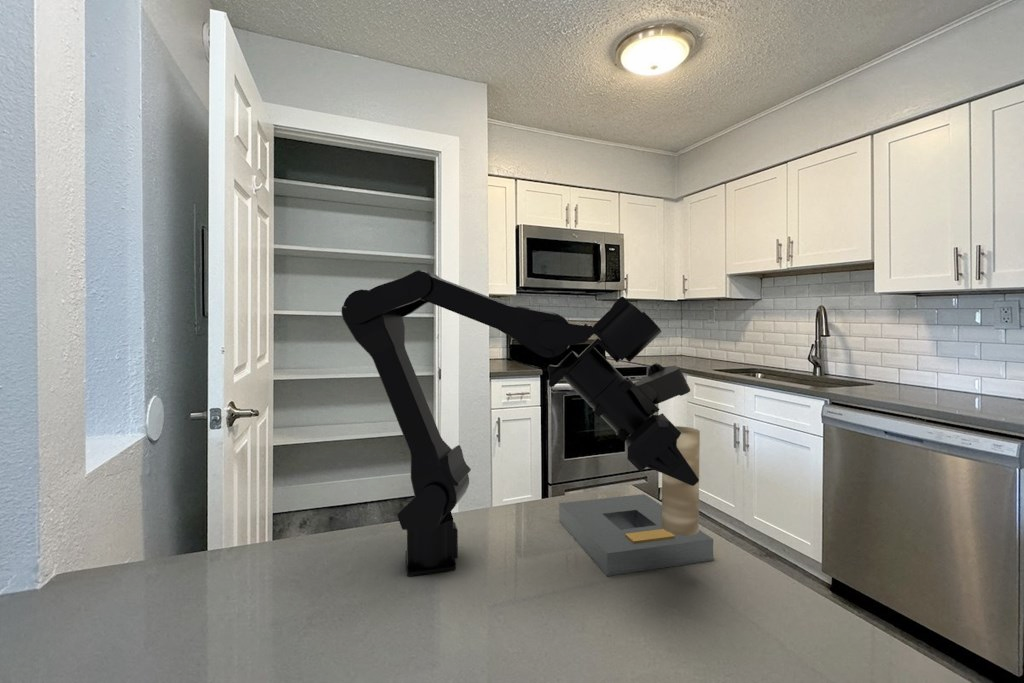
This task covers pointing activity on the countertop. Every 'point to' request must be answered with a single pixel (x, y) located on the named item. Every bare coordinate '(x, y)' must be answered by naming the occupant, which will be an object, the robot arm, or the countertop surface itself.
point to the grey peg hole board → (630, 535)
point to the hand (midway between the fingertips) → (691, 476)
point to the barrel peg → (682, 489)
